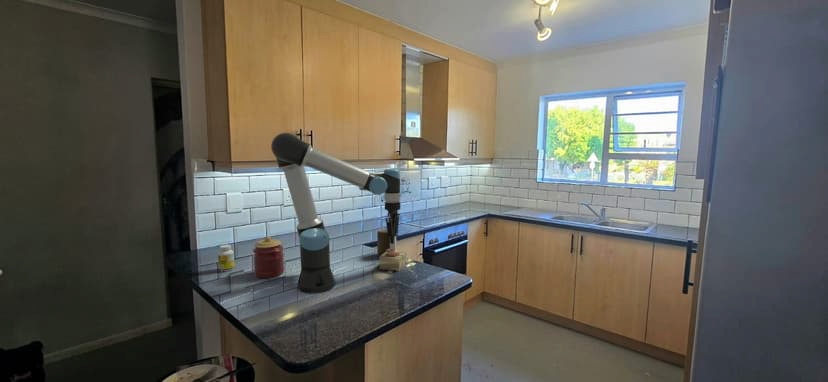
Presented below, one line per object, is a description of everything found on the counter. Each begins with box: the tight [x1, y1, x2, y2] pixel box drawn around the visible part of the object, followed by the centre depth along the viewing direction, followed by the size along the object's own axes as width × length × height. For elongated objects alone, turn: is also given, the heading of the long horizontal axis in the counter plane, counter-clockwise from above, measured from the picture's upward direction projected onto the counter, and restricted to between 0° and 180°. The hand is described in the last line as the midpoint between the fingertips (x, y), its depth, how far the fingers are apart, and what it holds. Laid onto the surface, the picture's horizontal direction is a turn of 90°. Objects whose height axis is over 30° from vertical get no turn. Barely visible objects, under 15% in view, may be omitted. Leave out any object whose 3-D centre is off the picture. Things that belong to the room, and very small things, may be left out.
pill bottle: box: [217, 244, 235, 272], centre depth 165 cm, size 6×6×12 cm
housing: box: [378, 251, 407, 272], centre depth 169 cm, size 10×10×6 cm
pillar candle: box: [376, 227, 390, 258], centre depth 187 cm, size 10×10×15 cm
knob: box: [386, 247, 401, 257], centre depth 169 cm, size 6×6×8 cm
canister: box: [252, 235, 285, 279], centre depth 160 cm, size 13×13×18 cm
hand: (393, 249), depth 168 cm, fingers closed
